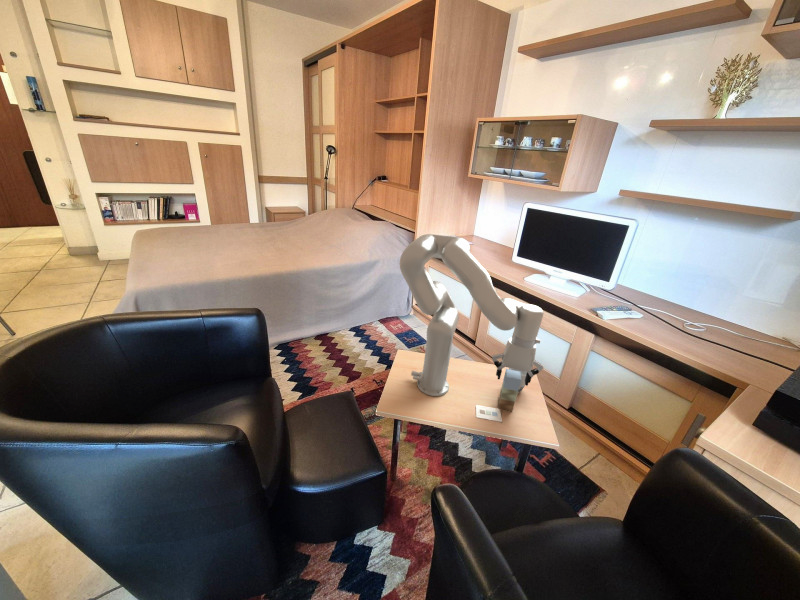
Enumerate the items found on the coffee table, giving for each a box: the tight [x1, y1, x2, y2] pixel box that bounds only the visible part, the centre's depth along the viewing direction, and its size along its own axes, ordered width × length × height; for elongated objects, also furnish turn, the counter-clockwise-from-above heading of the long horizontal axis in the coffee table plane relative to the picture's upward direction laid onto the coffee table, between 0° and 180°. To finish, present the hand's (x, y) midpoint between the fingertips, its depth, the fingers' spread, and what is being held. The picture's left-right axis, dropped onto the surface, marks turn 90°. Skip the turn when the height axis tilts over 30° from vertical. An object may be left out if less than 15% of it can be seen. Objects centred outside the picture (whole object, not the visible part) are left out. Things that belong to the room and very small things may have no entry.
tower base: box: [497, 383, 519, 413], centre depth 122 cm, size 5×5×10 cm
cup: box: [508, 368, 527, 394], centre depth 132 cm, size 8×8×10 cm
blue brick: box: [502, 368, 521, 391], centre depth 119 cm, size 5×5×5 cm
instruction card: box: [475, 404, 503, 423], centre depth 120 cm, size 9×6×1 cm
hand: (512, 380), depth 119 cm, fingers open, 9 cm apart
